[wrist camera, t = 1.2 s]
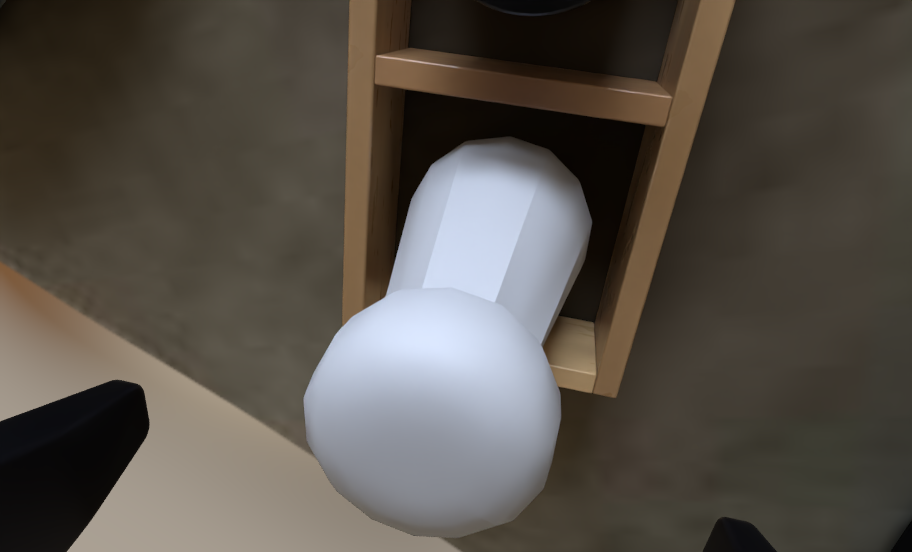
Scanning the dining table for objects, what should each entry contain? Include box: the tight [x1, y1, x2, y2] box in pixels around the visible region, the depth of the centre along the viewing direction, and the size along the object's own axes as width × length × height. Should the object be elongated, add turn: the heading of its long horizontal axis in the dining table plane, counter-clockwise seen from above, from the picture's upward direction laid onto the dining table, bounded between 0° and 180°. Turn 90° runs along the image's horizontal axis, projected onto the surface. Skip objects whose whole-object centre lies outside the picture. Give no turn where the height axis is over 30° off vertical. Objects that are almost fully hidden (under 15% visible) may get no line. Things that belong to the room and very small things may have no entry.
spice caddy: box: [342, 0, 736, 398], centre depth 17 cm, size 10×18×4 cm, turn 174°
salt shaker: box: [303, 136, 592, 538], centre depth 14 cm, size 6×6×13 cm
